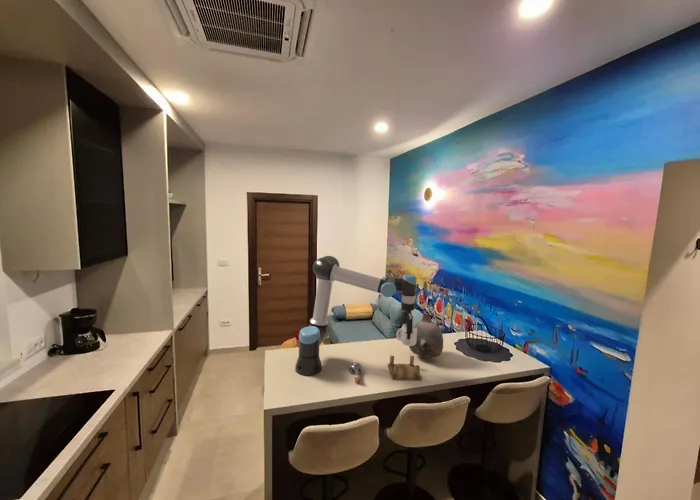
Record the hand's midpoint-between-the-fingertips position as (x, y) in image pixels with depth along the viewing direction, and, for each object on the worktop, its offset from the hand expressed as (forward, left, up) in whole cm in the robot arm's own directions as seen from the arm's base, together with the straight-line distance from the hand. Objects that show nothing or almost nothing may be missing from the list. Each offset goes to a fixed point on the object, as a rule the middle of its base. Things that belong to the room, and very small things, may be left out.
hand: (405, 341), depth 175 cm
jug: (+19, +21, -19) cm, 34 cm away
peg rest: (0, 0, -19) cm, 19 cm away
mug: (0, 0, -1) cm, 2 cm away
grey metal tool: (-28, -4, -18) cm, 34 cm away
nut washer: (-28, +1, -19) cm, 34 cm away
